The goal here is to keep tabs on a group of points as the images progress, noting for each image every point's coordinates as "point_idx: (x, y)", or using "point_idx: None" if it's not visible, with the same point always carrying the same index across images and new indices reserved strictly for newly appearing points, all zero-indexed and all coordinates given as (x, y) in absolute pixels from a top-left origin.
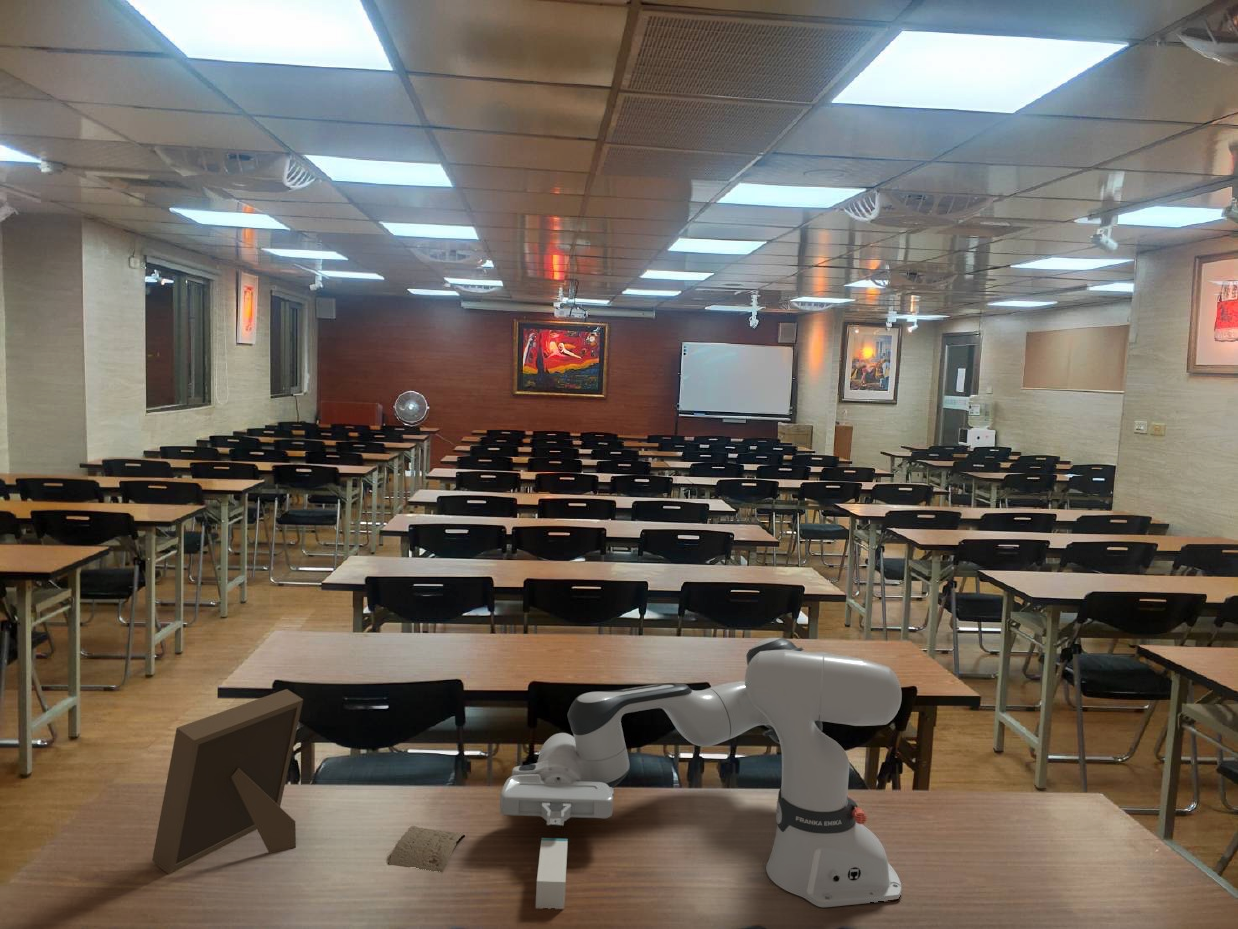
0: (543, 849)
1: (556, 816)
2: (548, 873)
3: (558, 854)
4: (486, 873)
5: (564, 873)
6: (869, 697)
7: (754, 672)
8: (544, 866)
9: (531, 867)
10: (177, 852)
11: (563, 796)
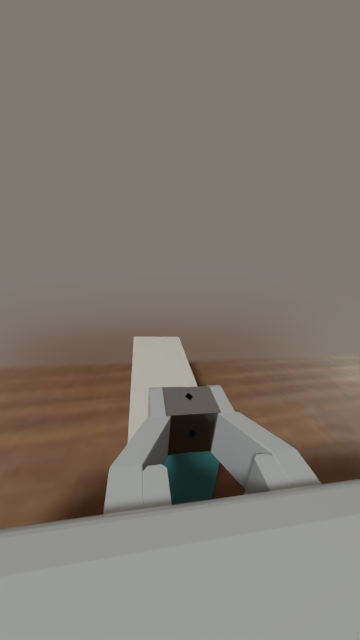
0: None
1: (181, 387)
2: (164, 346)
3: (152, 385)
4: (304, 440)
5: (135, 348)
6: None
7: None
8: (175, 358)
9: (225, 479)
10: None
11: (183, 542)
